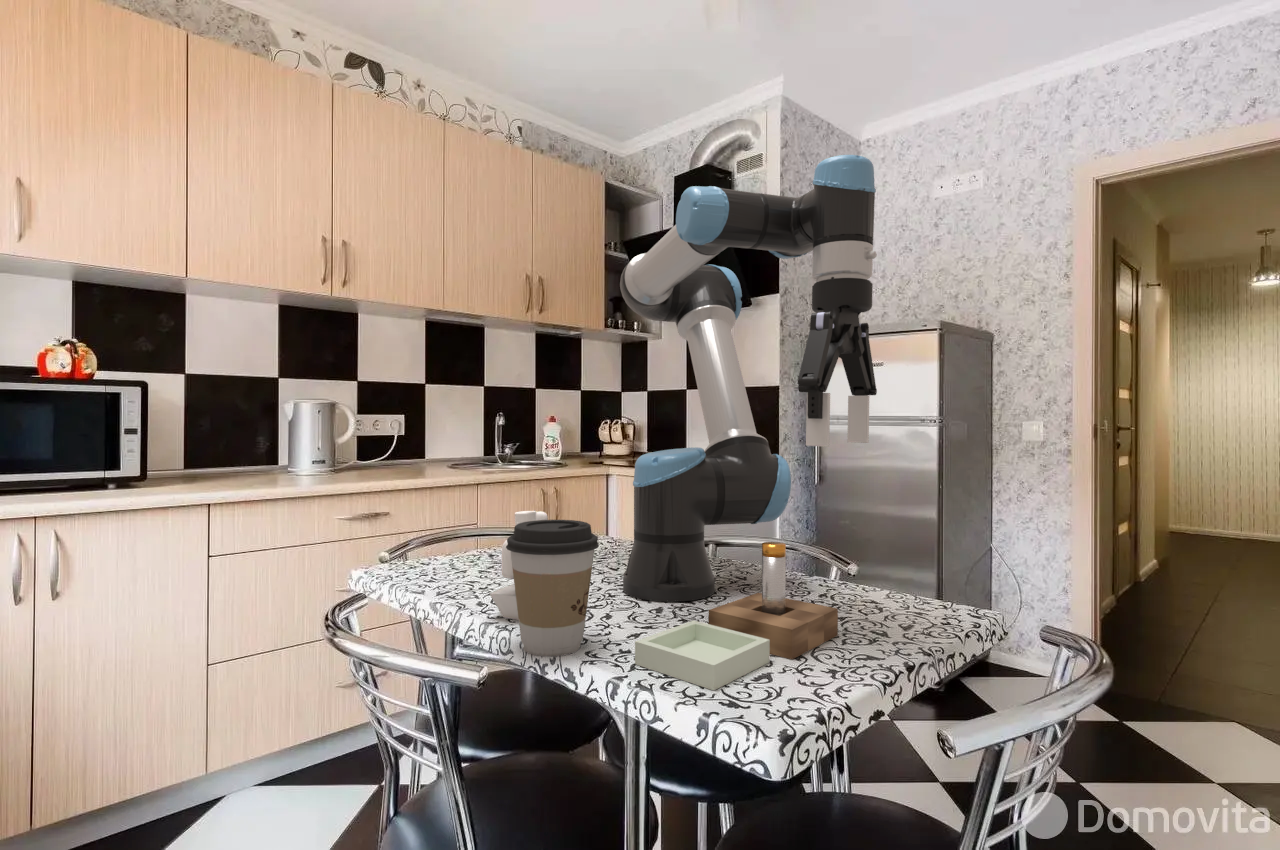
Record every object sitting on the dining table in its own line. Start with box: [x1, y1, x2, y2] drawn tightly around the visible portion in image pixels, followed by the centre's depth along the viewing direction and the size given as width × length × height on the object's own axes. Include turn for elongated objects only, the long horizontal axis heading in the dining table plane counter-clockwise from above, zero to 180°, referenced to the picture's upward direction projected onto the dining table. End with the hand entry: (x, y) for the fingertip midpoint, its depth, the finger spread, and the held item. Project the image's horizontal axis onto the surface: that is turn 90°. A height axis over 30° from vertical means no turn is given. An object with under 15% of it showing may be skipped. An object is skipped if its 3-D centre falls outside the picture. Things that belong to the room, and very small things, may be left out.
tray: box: [634, 620, 771, 691], centre depth 75 cm, size 11×11×3 cm
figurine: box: [489, 510, 549, 621], centre depth 94 cm, size 7×9×15 cm
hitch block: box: [708, 592, 839, 661], centre depth 85 cm, size 12×12×4 cm
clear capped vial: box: [761, 541, 787, 616], centre depth 85 cm, size 3×3×12 cm
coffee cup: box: [506, 519, 600, 658], centre depth 81 cm, size 11×11×15 cm
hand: (838, 444), depth 86 cm, fingers open, 13 cm apart
